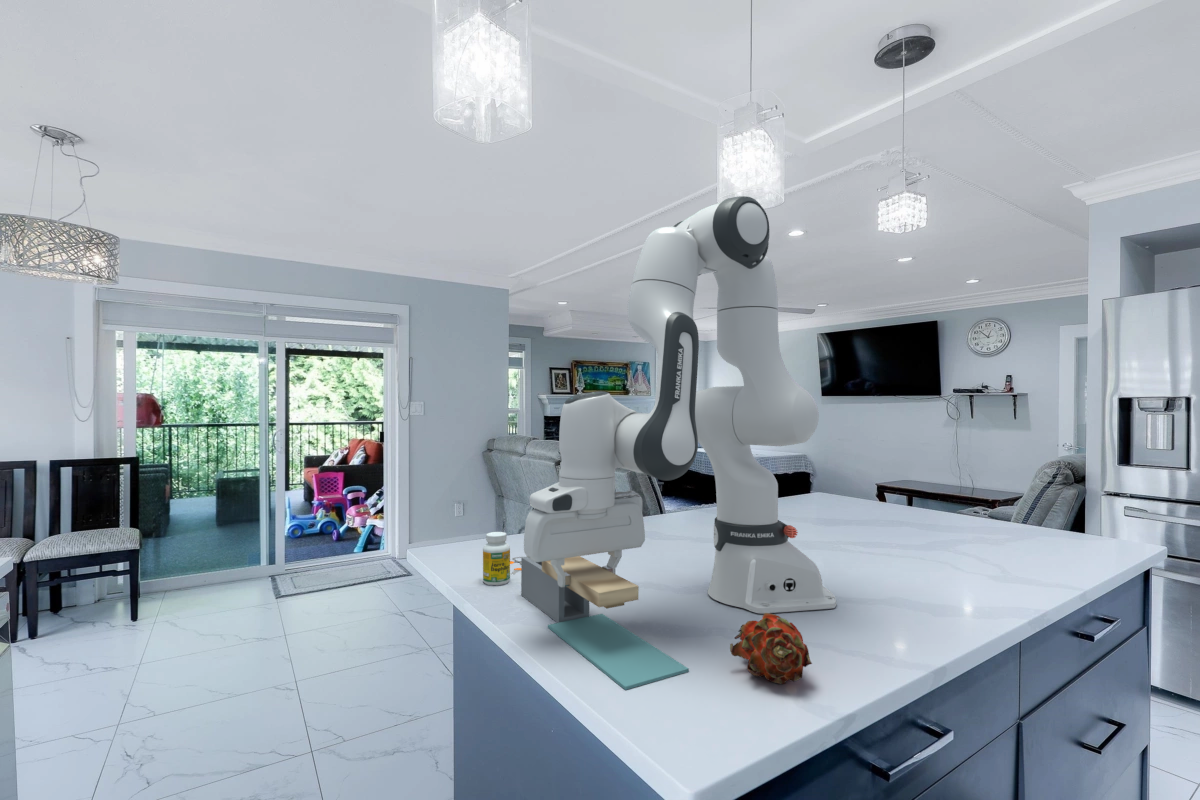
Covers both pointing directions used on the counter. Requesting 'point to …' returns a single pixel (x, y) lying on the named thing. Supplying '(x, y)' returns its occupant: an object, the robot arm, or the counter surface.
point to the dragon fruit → (772, 649)
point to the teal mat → (617, 651)
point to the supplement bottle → (496, 559)
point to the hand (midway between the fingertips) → (586, 581)
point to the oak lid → (595, 582)
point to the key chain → (515, 568)
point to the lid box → (550, 594)
